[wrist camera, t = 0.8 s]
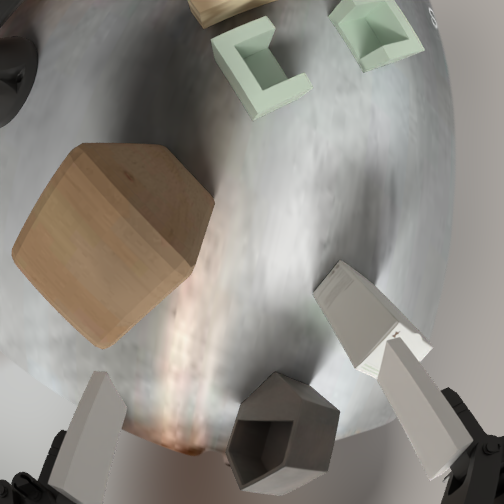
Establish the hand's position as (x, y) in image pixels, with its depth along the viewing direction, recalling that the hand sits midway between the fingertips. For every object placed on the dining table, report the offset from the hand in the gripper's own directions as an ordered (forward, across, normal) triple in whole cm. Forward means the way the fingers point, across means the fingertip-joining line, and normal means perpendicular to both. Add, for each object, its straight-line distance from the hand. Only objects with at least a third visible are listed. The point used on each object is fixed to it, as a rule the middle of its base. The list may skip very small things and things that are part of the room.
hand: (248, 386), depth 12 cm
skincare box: (+24, +14, -10) cm, 30 cm away
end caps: (+25, +12, +21) cm, 35 cm away
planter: (+24, +2, -31) cm, 39 cm away
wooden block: (+25, -9, +5) cm, 27 cm away
